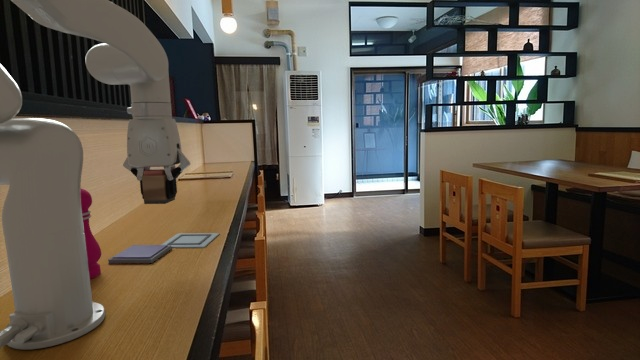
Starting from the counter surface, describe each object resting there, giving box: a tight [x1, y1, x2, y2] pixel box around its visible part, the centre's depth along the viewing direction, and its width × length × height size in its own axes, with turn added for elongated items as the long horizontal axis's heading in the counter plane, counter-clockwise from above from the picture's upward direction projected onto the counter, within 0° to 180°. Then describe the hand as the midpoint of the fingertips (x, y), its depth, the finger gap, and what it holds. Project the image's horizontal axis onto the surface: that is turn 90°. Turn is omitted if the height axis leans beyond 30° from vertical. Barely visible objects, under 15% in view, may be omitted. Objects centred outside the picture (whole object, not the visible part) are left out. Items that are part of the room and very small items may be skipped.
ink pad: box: [107, 244, 172, 265], centre depth 90 cm, size 10×10×1 cm
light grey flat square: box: [160, 232, 220, 249], centre depth 101 cm, size 12×12×1 cm
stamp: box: [142, 168, 176, 205], centre depth 81 cm, size 5×5×7 cm
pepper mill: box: [81, 188, 102, 280], centre depth 77 cm, size 7×7×20 cm
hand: (159, 197), depth 82 cm, fingers closed on stamp, 4 cm apart
